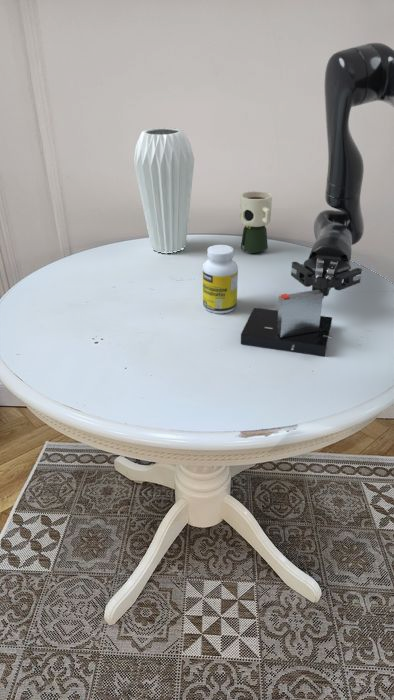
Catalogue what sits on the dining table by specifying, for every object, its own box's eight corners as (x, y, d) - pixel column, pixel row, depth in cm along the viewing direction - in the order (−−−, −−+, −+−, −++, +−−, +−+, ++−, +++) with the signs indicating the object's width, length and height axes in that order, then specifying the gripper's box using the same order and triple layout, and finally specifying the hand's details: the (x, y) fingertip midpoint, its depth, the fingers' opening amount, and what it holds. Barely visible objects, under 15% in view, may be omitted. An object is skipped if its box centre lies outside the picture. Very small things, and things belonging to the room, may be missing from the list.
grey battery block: (314, 326, 90) (318, 287, 86) (318, 331, 89) (323, 292, 85) (276, 333, 88) (279, 294, 85) (280, 338, 87) (283, 298, 83)
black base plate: (334, 327, 94) (336, 316, 93) (326, 365, 84) (328, 354, 83) (253, 316, 98) (253, 306, 97) (236, 352, 88) (236, 340, 86)
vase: (129, 250, 127) (118, 133, 113) (167, 234, 135) (161, 123, 121) (170, 263, 119) (163, 140, 105) (207, 246, 128) (206, 129, 114)
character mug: (229, 245, 128) (230, 191, 121) (254, 240, 131) (257, 187, 124) (253, 261, 120) (255, 203, 113) (279, 255, 122) (283, 199, 115)
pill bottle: (195, 306, 102) (194, 248, 95) (220, 296, 105) (220, 239, 99) (219, 318, 97) (219, 259, 91) (244, 307, 101) (245, 249, 95)
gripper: (297, 233, 102) (281, 268, 88) (369, 239, 99) (364, 276, 85) (294, 269, 106) (278, 308, 92) (363, 276, 103) (357, 317, 89)
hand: (319, 292), depth 89 cm, fingers closed
